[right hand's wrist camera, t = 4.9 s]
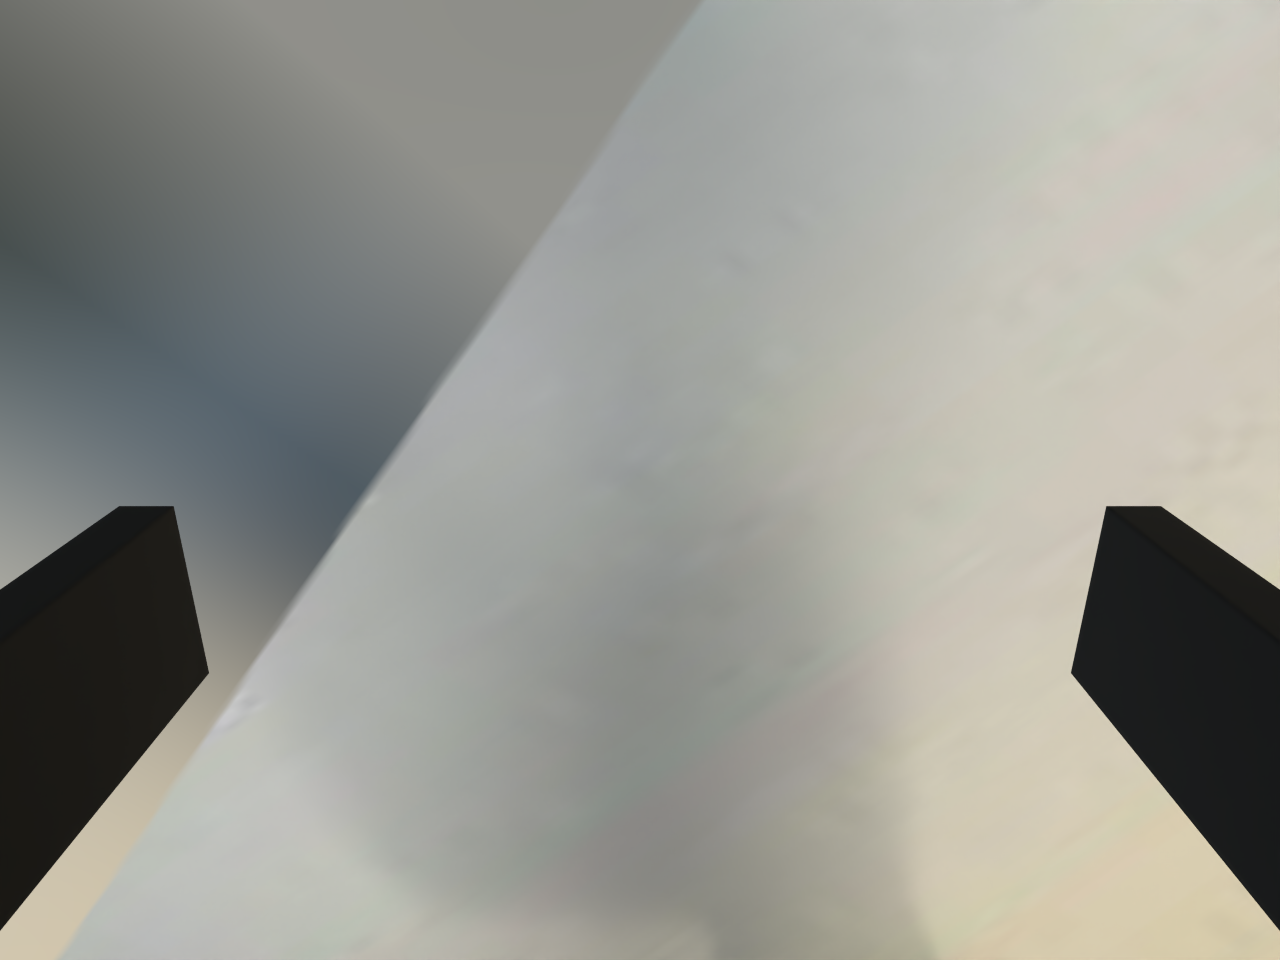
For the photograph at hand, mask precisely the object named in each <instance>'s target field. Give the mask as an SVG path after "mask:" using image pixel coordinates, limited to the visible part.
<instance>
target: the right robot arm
mask: <svg viewBox="0 0 1280 960" xmlns="http://www.w3.org/2000/svg"><path fill="white" fill-rule="evenodd" d="M208 674H209V671H208V666H207V661H206V657H205V652H204V647H203V643H202V638H201V633H200V628H199V624H198V619H197V614H196V610H195V605H194V600H193V595H192V591H191V586H190V582H189V577H188V572H187V567H186V562H185V558H184V553H183V548H182V544H181V539H180V534H179V530H178V525H177V520H176V515H175V511H174V507H173V506H119V507H117V508H116V509H115V510H113V511H112V512H110V513H109V514H108V515H106V516H105V517H103V518H102V519H100V520H99V521H98V522H96V523H95V524H93V525H92V526H90V527H89V528H87V529H86V530H85V531H83V532H82V533H80V534H79V535H78V536H76V537H75V538H73V539H72V540H70V541H69V542H68V543H66V544H65V545H63V546H62V547H60V548H59V549H58V550H56V551H55V552H53V553H52V554H50V555H49V556H48V557H46V558H45V559H43V560H42V561H40V562H39V563H38V564H36V565H35V566H33V567H32V568H30V569H29V570H28V571H26V572H25V573H23V574H22V575H20V576H19V577H18V578H16V579H15V580H13V581H12V582H11V583H9V584H8V585H6V586H5V587H3V588H2V589H1V590H0V930H1V929H2V928H3V927H4V925H5V924H6V923H7V922H8V920H9V919H10V918H11V917H12V915H13V914H14V913H15V912H16V911H17V909H18V908H19V907H20V906H21V904H22V903H23V902H24V901H25V899H26V898H27V897H28V896H29V895H30V893H31V892H32V891H33V889H34V888H35V887H36V886H37V885H38V883H39V882H40V881H41V880H42V878H43V877H44V876H45V875H46V873H47V872H48V871H49V870H50V869H51V867H52V866H53V865H54V864H55V862H56V861H57V860H58V859H59V857H60V856H61V855H62V854H63V852H64V851H65V850H66V849H67V848H68V846H69V845H70V844H71V843H72V841H73V840H74V839H75V838H76V836H77V835H78V834H79V833H80V832H81V830H82V829H83V828H84V827H85V825H86V824H87V823H88V822H89V820H90V819H91V818H92V817H93V815H94V814H95V813H96V812H97V811H98V809H99V808H100V807H101V806H102V804H103V803H104V802H105V801H106V799H107V798H108V797H109V796H110V795H111V793H112V792H113V791H114V790H115V788H116V787H117V786H118V785H119V783H120V782H121V781H122V780H123V778H124V777H125V776H126V775H127V774H128V772H129V771H130V770H131V769H132V767H133V766H134V765H135V764H136V762H137V761H138V760H139V759H140V757H141V756H142V755H143V754H144V753H145V751H146V750H147V749H148V748H149V746H150V745H151V744H152V743H153V741H154V740H155V739H156V738H157V736H158V735H159V734H160V733H161V732H162V730H163V729H164V728H165V727H166V725H167V724H168V723H169V722H170V720H171V719H172V718H173V717H174V716H175V714H176V713H177V712H178V711H179V709H180V708H181V707H182V706H183V704H184V703H185V702H186V701H187V699H188V698H189V697H190V696H191V695H192V693H193V692H194V691H195V690H196V688H197V687H198V686H199V685H200V683H201V682H202V681H203V680H204V678H205V677H206V676H207V675H208ZM1071 674H1072V675H1073V676H1074V677H1075V678H1076V680H1077V681H1078V682H1079V683H1080V685H1081V686H1082V687H1083V688H1084V690H1085V691H1086V692H1087V693H1088V695H1089V696H1090V697H1091V698H1092V699H1093V701H1094V702H1095V703H1096V704H1097V706H1098V707H1099V708H1100V709H1101V711H1102V712H1103V713H1104V714H1105V716H1106V717H1107V718H1108V719H1109V720H1110V722H1111V723H1112V724H1113V725H1114V727H1115V728H1116V729H1117V730H1118V732H1119V733H1120V734H1121V735H1122V736H1123V738H1124V739H1125V740H1126V741H1127V743H1128V744H1129V745H1130V746H1131V748H1132V749H1133V750H1134V751H1135V753H1136V754H1137V755H1138V756H1139V757H1140V759H1141V760H1142V761H1143V762H1144V764H1145V765H1146V766H1147V767H1148V769H1149V770H1150V771H1151V772H1152V774H1153V775H1154V776H1155V777H1156V778H1157V780H1158V781H1159V782H1160V783H1161V785H1162V786H1163V787H1164V788H1165V790H1166V791H1167V792H1168V793H1169V795H1170V796H1171V797H1172V798H1173V799H1174V801H1175V802H1176V803H1177V804H1178V806H1179V807H1180V808H1181V809H1182V811H1183V812H1184V813H1185V814H1186V816H1187V817H1188V818H1189V819H1190V820H1191V822H1192V823H1193V824H1194V825H1195V827H1196V828H1197V829H1198V830H1199V832H1200V833H1201V834H1202V835H1203V836H1204V838H1205V839H1206V840H1207V841H1208V843H1209V844H1210V845H1211V846H1212V848H1213V849H1214V850H1215V851H1216V853H1217V854H1218V855H1219V856H1220V857H1221V859H1222V860H1223V861H1224V862H1225V864H1226V865H1227V866H1228V867H1229V869H1230V870H1231V871H1232V872H1233V874H1234V875H1235V876H1236V877H1237V878H1238V880H1239V881H1240V882H1241V883H1242V885H1243V886H1244V887H1245V888H1246V890H1247V891H1248V892H1249V893H1250V895H1251V896H1252V897H1253V898H1254V899H1255V901H1256V902H1257V903H1258V904H1259V906H1260V907H1261V908H1262V909H1263V911H1264V912H1265V913H1266V914H1267V915H1268V917H1269V918H1270V919H1271V920H1272V922H1273V923H1274V924H1275V925H1276V927H1277V928H1278V929H1279V930H1280V590H1279V589H1278V588H1277V587H1275V586H1274V585H1272V584H1271V583H1269V582H1268V581H1267V580H1265V579H1264V578H1262V577H1261V576H1260V575H1258V574H1257V573H1255V572H1254V571H1252V570H1251V569H1250V568H1248V567H1247V566H1245V565H1244V564H1242V563H1241V562H1240V561H1238V560H1237V559H1235V558H1234V557H1232V556H1231V555H1230V554H1228V553H1227V552H1225V551H1224V550H1222V549H1221V548H1220V547H1218V546H1217V545H1215V544H1214V543H1212V542H1211V541H1210V540H1208V539H1207V538H1205V537H1204V536H1202V535H1201V534H1200V533H1198V532H1197V531H1195V530H1194V529H1193V528H1191V527H1190V526H1188V525H1187V524H1185V523H1184V522H1183V521H1181V520H1180V519H1178V518H1177V517H1175V516H1174V515H1173V514H1171V513H1170V512H1168V511H1167V510H1165V509H1164V508H1163V507H1161V506H1106V511H1105V515H1104V520H1103V525H1102V529H1101V534H1100V539H1099V544H1098V548H1097V553H1096V558H1095V562H1094V567H1093V572H1092V577H1091V581H1090V586H1089V591H1088V595H1087V600H1086V605H1085V610H1084V614H1083V619H1082V624H1081V628H1080V633H1079V638H1078V643H1077V647H1076V652H1075V657H1074V661H1073V666H1072V671H1071Z"/></svg>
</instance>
